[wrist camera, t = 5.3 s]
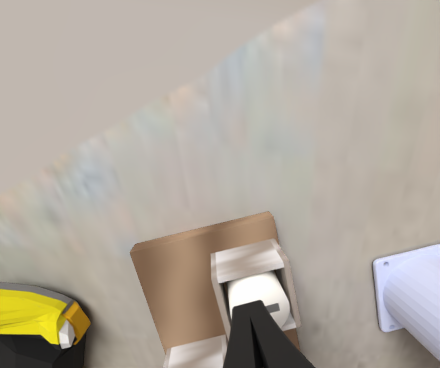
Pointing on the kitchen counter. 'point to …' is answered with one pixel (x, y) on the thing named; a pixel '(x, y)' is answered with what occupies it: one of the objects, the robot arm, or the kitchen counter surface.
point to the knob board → (208, 285)
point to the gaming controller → (40, 328)
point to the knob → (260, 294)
